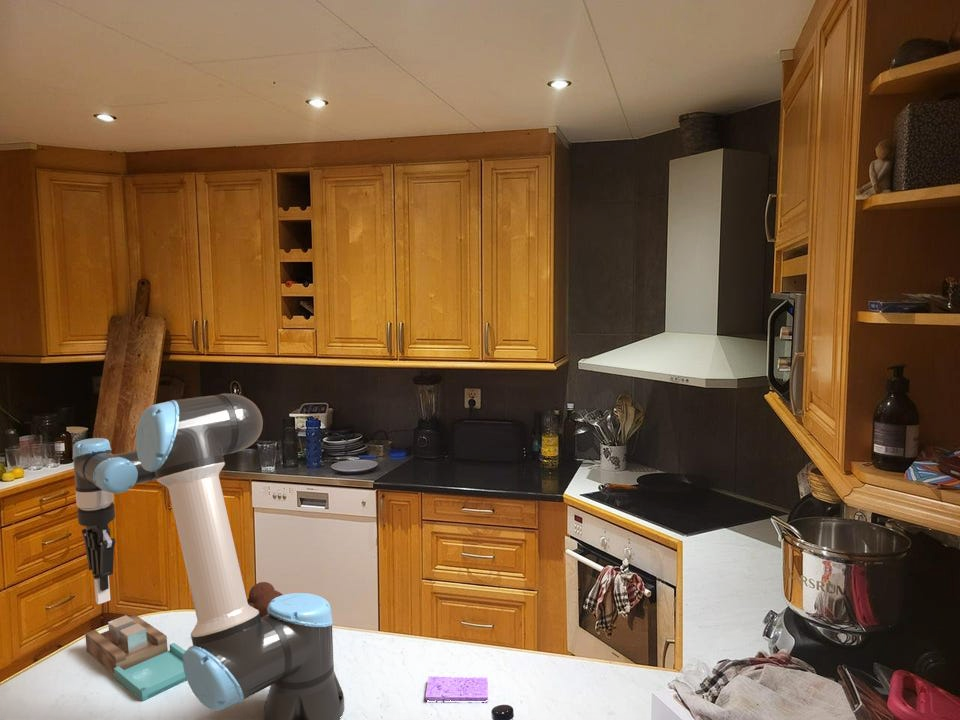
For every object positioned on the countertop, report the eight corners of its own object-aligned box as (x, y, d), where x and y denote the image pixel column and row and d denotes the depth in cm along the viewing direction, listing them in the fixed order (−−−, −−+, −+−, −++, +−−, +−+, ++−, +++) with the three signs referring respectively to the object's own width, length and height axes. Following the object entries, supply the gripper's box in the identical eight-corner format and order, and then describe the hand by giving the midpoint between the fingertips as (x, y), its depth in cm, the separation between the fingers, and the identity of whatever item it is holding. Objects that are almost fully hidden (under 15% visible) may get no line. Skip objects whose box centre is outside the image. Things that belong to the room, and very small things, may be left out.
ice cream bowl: (230, 657, 151) (227, 593, 149) (260, 632, 162) (257, 572, 160) (271, 664, 148) (268, 599, 146) (299, 638, 159) (296, 577, 157)
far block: (135, 637, 154) (133, 620, 154) (117, 644, 151) (115, 627, 151) (127, 631, 157) (126, 615, 156) (109, 638, 154) (108, 622, 153)
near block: (147, 645, 151) (146, 628, 150) (128, 653, 148) (127, 636, 147) (139, 639, 153) (137, 623, 153) (120, 647, 150) (119, 630, 150)
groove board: (167, 654, 152) (166, 635, 152) (117, 676, 144) (115, 657, 143) (136, 632, 162) (134, 614, 162) (86, 651, 154) (85, 633, 154)
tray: (203, 672, 145) (203, 662, 145) (142, 701, 135) (141, 691, 135) (174, 651, 154) (173, 642, 153) (114, 677, 144) (113, 668, 143)
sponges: (428, 684, 141) (428, 675, 141) (488, 684, 141) (488, 676, 140) (425, 705, 134) (424, 696, 134) (488, 705, 134) (488, 696, 133)
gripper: (125, 506, 155) (131, 603, 158) (101, 495, 163) (108, 587, 166) (90, 515, 149) (97, 616, 152) (67, 503, 158) (74, 598, 161)
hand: (103, 601), depth 159 cm, fingers closed
